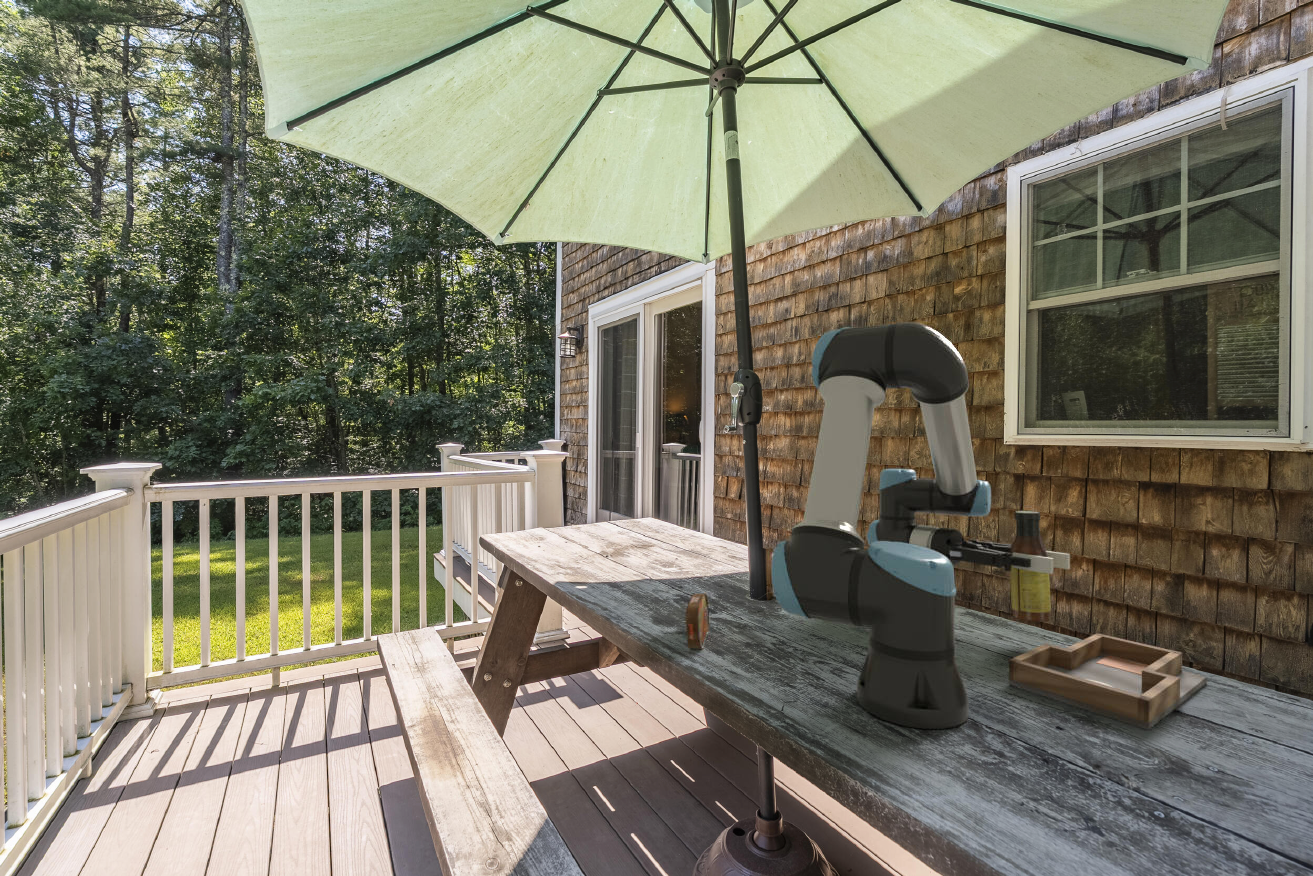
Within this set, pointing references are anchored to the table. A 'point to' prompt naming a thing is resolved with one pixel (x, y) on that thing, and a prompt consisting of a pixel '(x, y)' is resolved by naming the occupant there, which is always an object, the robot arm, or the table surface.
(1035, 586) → the sauce bottle
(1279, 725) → the table surface
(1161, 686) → the keyhole guide
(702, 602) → the tin
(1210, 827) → the table surface
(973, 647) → the table surface
